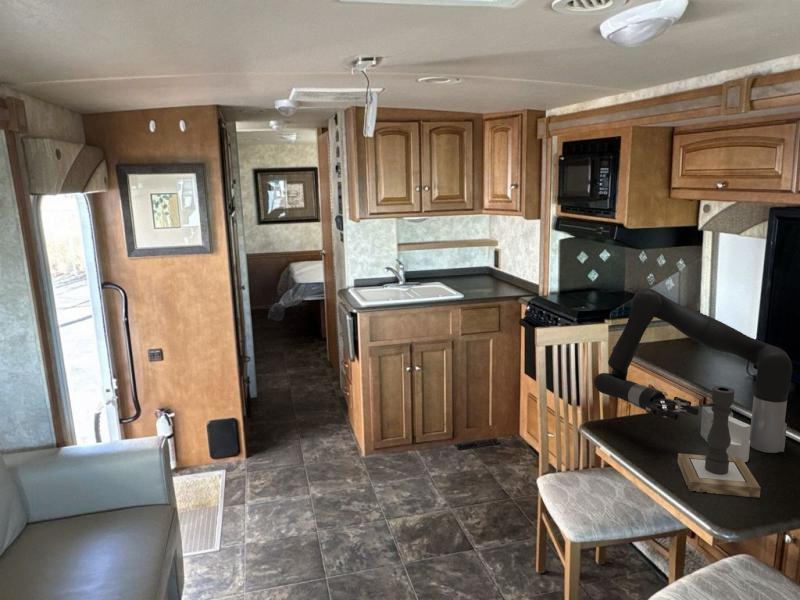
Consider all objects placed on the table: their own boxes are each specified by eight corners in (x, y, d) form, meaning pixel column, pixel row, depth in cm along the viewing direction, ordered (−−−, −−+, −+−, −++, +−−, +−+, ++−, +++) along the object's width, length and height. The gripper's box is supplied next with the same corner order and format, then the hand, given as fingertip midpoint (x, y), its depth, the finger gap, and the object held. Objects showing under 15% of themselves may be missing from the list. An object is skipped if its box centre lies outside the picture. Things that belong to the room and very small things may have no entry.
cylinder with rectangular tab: (709, 452, 196) (712, 418, 194) (731, 448, 199) (734, 413, 196) (733, 465, 188) (736, 428, 185) (755, 460, 191) (758, 424, 188)
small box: (724, 435, 208) (726, 406, 206) (731, 442, 203) (733, 412, 201) (699, 435, 209) (701, 406, 207) (706, 442, 204) (708, 412, 202)
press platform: (732, 469, 184) (733, 462, 183) (744, 489, 173) (745, 481, 172) (689, 466, 187) (690, 458, 186) (698, 485, 175) (699, 477, 175)
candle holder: (701, 469, 179) (708, 389, 174) (708, 462, 184) (715, 384, 178) (724, 476, 175) (731, 394, 170) (731, 469, 179) (738, 388, 174)
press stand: (740, 467, 186) (741, 458, 185) (759, 497, 169) (760, 487, 168) (677, 462, 190) (678, 453, 190) (689, 491, 173) (690, 481, 173)
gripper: (630, 391, 197) (672, 407, 182) (662, 383, 203) (705, 399, 188) (629, 413, 198) (671, 431, 184) (660, 404, 204) (703, 421, 190)
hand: (688, 414), depth 186 cm, fingers open, 8 cm apart
